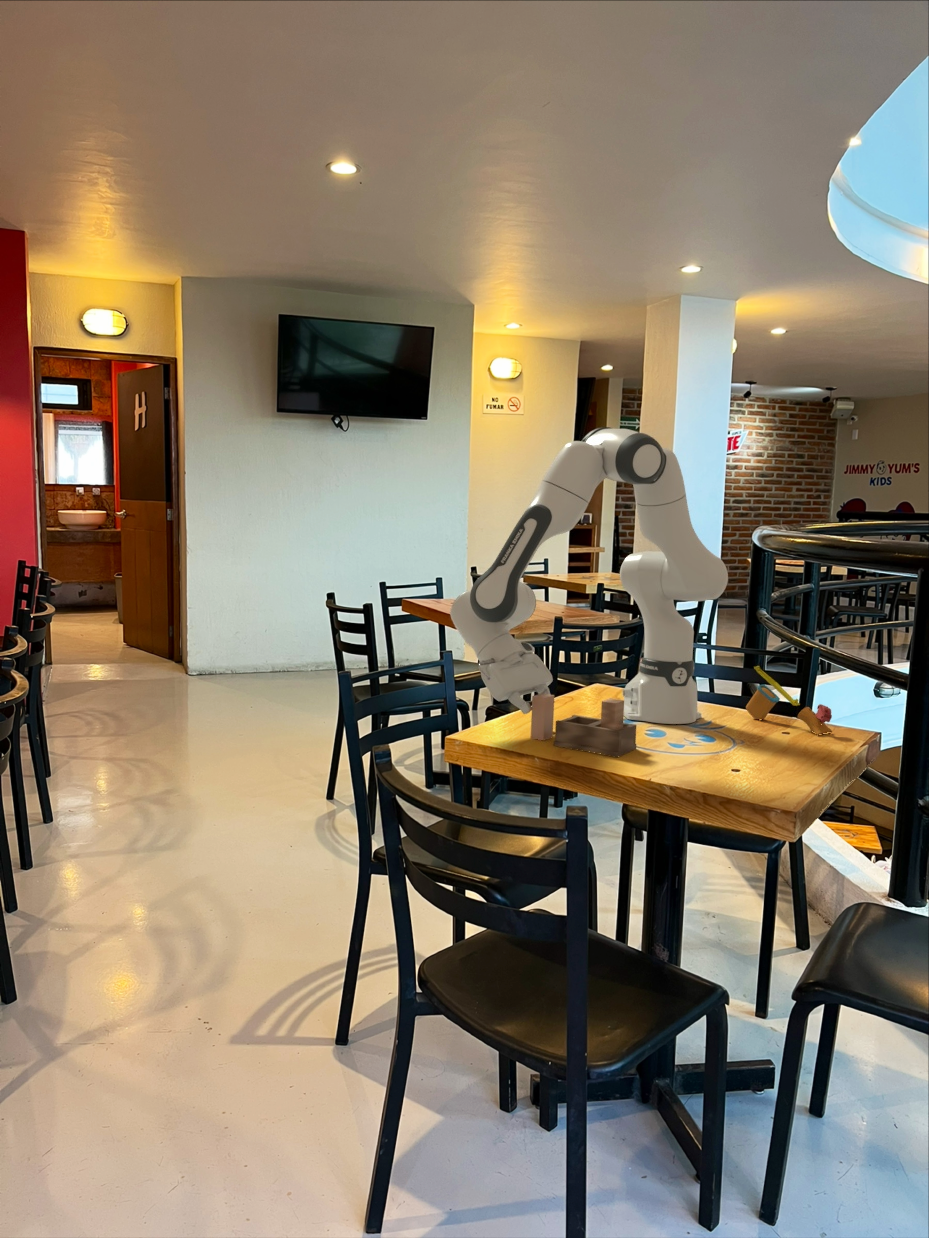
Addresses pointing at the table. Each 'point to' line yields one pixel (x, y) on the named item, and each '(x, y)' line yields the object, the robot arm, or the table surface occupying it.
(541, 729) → the pink rectangular block
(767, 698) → the toy
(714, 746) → the table surface
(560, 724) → the box
